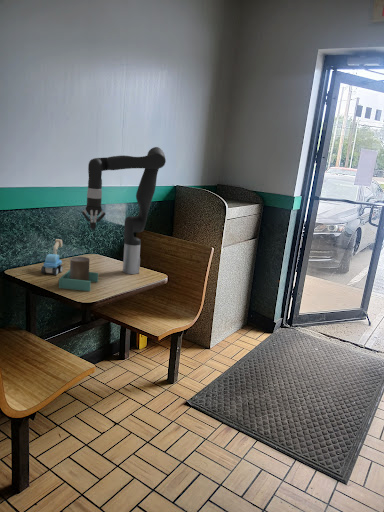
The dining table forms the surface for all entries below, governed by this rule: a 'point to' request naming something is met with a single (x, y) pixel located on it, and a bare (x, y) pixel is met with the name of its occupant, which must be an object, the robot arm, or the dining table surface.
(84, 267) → the pillar candle
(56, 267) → the toy excavator
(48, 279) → the dining table surface
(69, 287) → the teal square tray
